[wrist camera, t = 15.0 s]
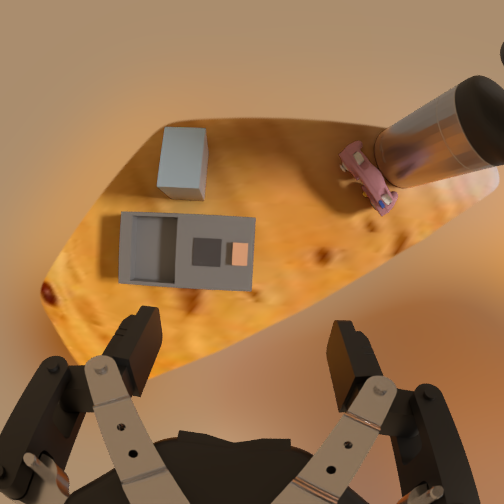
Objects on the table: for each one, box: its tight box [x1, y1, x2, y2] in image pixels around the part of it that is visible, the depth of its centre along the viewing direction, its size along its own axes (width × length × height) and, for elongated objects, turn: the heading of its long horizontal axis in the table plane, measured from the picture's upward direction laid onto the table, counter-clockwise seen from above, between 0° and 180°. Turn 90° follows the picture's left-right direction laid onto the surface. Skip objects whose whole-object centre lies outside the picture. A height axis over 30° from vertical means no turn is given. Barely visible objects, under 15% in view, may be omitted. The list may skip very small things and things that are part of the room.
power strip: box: [119, 212, 256, 291], centre depth 32 cm, size 15×8×4 cm, turn 86°
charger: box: [157, 127, 209, 201], centre depth 30 cm, size 4×6×8 cm, turn 176°
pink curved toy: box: [338, 141, 398, 216], centre depth 34 cm, size 10×5×7 cm, turn 38°
